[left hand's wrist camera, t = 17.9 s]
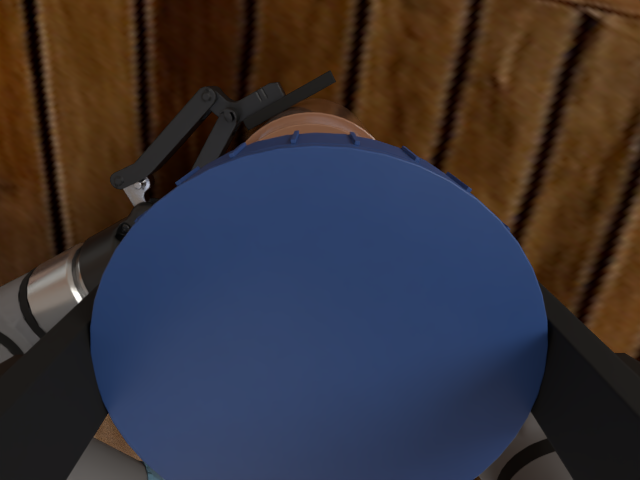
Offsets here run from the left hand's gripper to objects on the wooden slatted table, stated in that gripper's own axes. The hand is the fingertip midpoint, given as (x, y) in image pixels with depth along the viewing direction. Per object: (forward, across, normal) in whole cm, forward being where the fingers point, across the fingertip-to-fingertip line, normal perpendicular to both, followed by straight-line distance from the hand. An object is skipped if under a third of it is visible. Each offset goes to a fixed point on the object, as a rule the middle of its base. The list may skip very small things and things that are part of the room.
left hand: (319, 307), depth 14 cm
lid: (-3, 0, 0) cm, 3 cm away
